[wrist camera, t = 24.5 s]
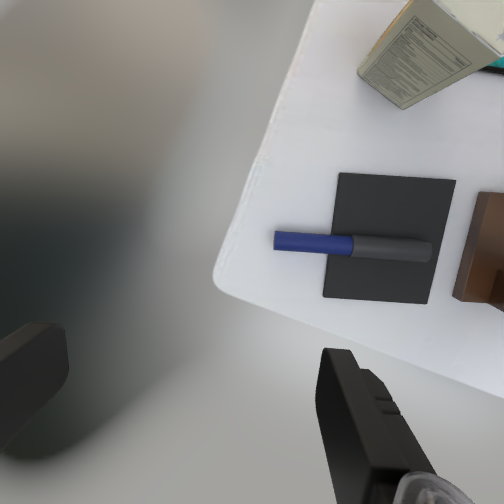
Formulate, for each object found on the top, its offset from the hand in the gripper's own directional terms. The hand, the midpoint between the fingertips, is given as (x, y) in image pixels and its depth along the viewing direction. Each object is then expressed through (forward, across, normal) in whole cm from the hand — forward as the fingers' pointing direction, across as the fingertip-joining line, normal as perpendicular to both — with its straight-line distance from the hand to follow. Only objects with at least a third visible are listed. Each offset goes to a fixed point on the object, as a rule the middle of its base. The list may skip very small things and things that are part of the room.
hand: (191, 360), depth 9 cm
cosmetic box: (+24, -14, -16) cm, 32 cm away
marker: (+22, -12, +1) cm, 25 cm away
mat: (+24, -16, 0) cm, 29 cm away
